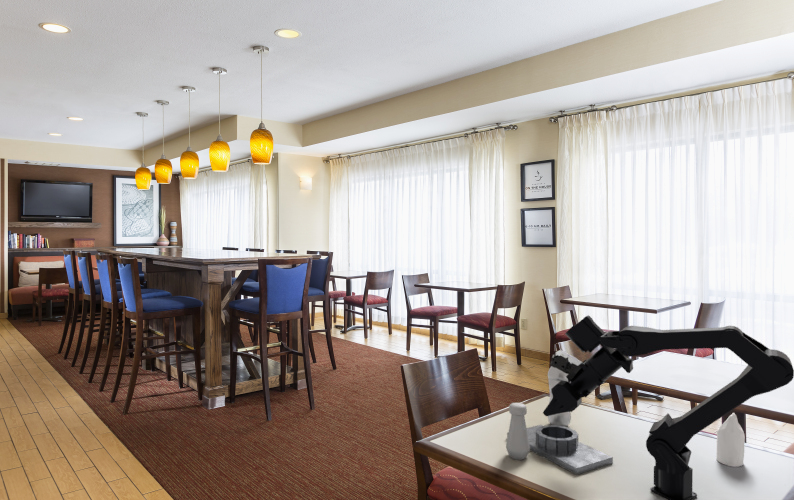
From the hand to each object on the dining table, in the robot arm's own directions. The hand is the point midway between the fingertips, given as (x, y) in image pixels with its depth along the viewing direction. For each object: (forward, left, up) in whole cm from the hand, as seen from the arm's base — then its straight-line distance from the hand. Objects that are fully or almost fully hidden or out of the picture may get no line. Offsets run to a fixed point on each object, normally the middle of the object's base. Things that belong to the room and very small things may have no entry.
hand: (550, 408), depth 122 cm
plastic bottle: (+17, -20, -13) cm, 30 cm away
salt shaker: (+7, +4, -13) cm, 16 cm away
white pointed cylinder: (-20, -38, -13) cm, 45 cm away
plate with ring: (+5, -7, -13) cm, 16 cm away
